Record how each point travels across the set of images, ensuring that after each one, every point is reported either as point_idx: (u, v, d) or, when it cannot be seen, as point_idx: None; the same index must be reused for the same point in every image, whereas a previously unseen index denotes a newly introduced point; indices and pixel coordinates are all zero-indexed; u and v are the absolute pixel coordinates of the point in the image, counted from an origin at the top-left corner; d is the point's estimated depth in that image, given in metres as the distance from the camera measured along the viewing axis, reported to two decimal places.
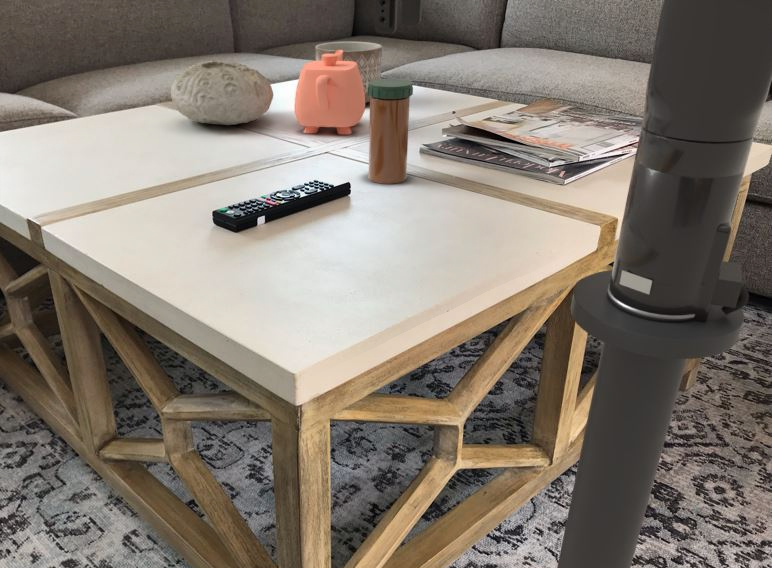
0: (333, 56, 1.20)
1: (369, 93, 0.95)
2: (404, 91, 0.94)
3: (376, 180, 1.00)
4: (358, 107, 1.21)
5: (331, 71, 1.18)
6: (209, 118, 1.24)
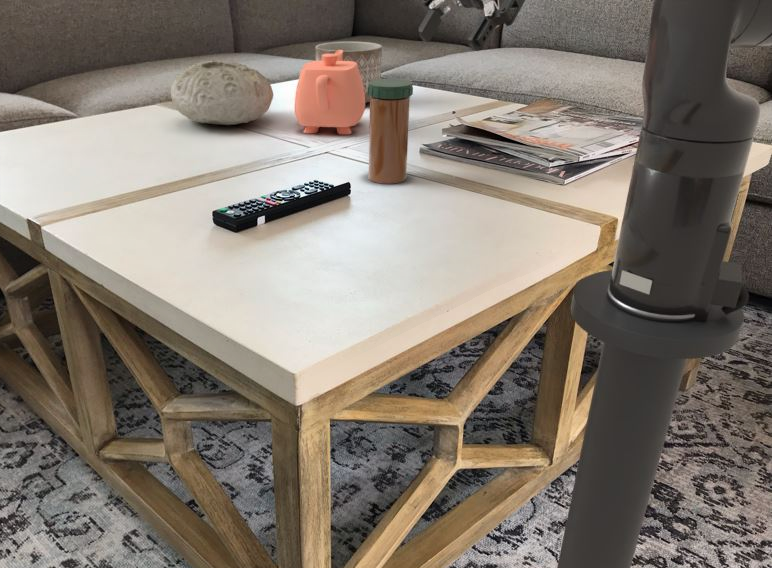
0: (333, 56, 1.20)
1: (369, 93, 0.95)
2: (404, 91, 0.94)
3: (376, 180, 1.00)
4: (358, 107, 1.21)
5: (331, 71, 1.18)
6: (209, 118, 1.24)
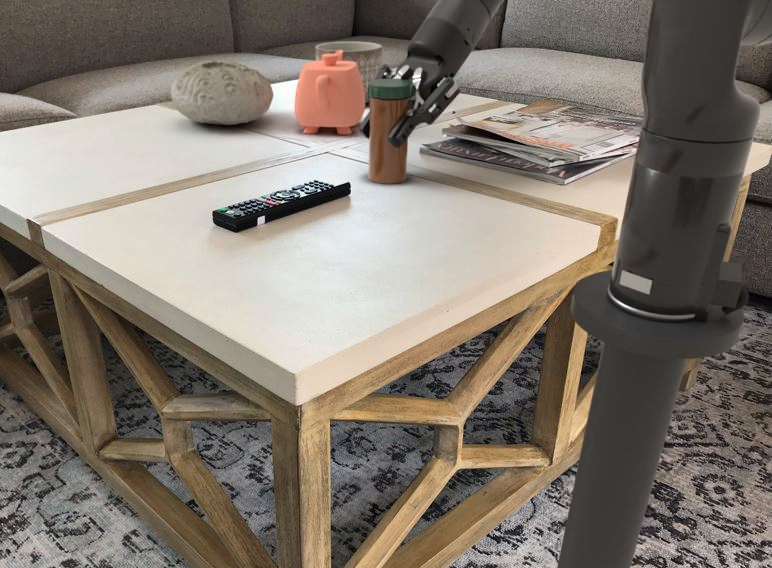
0: (333, 56, 1.20)
1: (369, 93, 0.95)
2: (404, 91, 0.94)
3: (376, 180, 1.00)
4: (358, 107, 1.21)
5: (331, 71, 1.18)
6: (209, 118, 1.24)
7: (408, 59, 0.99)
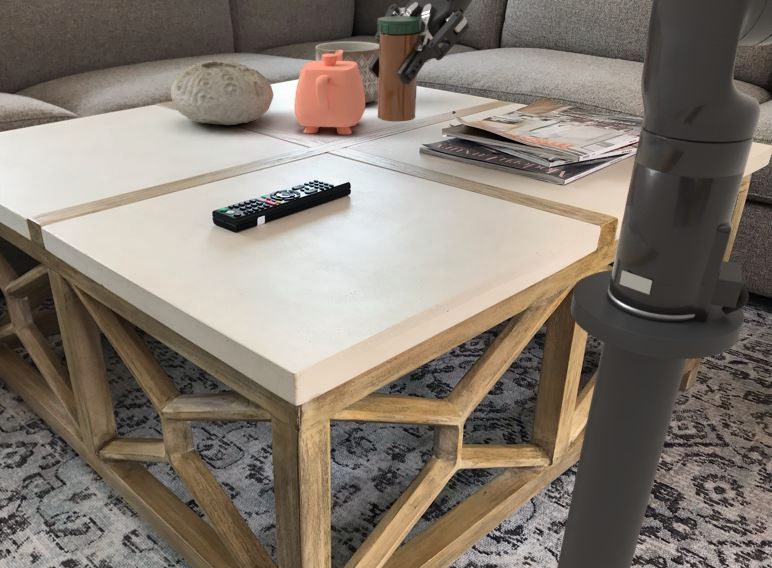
0: (333, 56, 1.20)
1: (378, 29, 0.96)
2: (413, 26, 0.94)
3: (385, 118, 1.00)
4: (358, 107, 1.21)
5: (331, 71, 1.18)
6: (209, 118, 1.24)
7: None
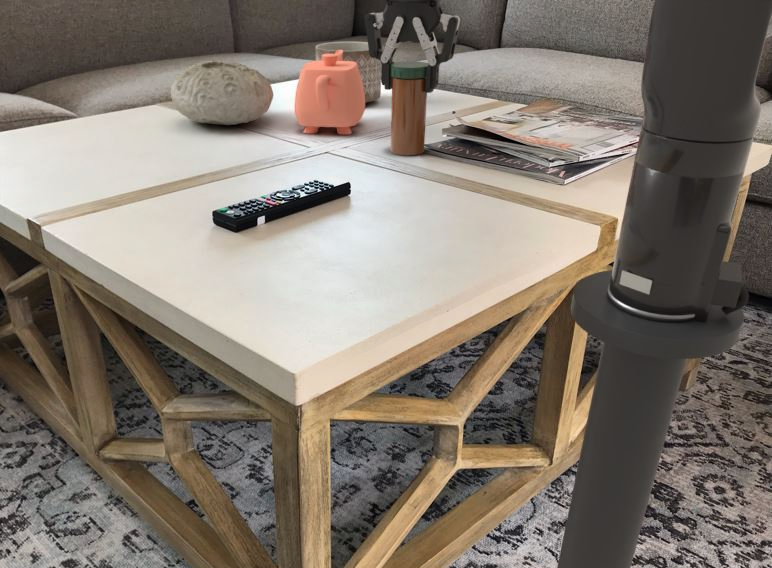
0: (333, 56, 1.20)
1: (391, 74, 1.07)
2: (423, 71, 1.06)
3: (397, 152, 1.12)
4: (358, 107, 1.21)
5: (331, 71, 1.18)
6: (209, 118, 1.24)
7: (391, 4, 1.03)
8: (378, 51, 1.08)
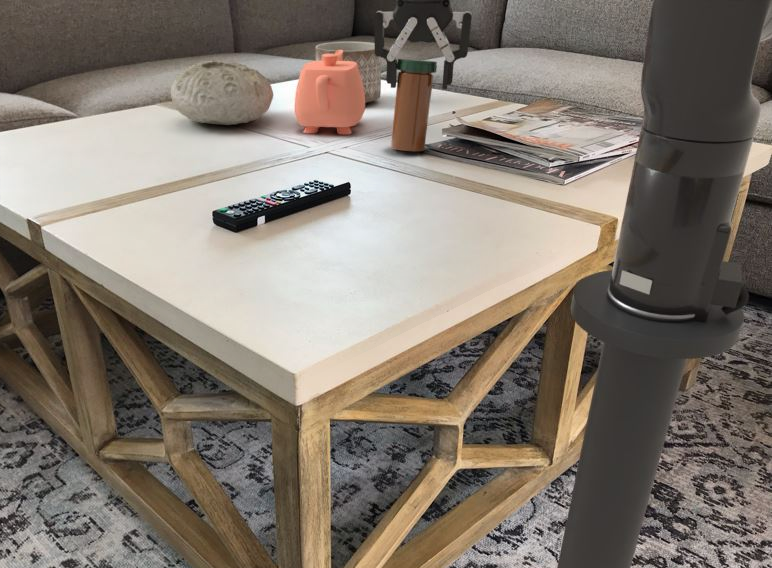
0: (333, 56, 1.20)
1: (424, 69, 1.06)
2: None
3: (398, 147, 1.11)
4: (358, 107, 1.21)
5: (331, 71, 1.18)
6: (209, 118, 1.24)
7: (403, 5, 1.03)
8: (383, 50, 1.07)
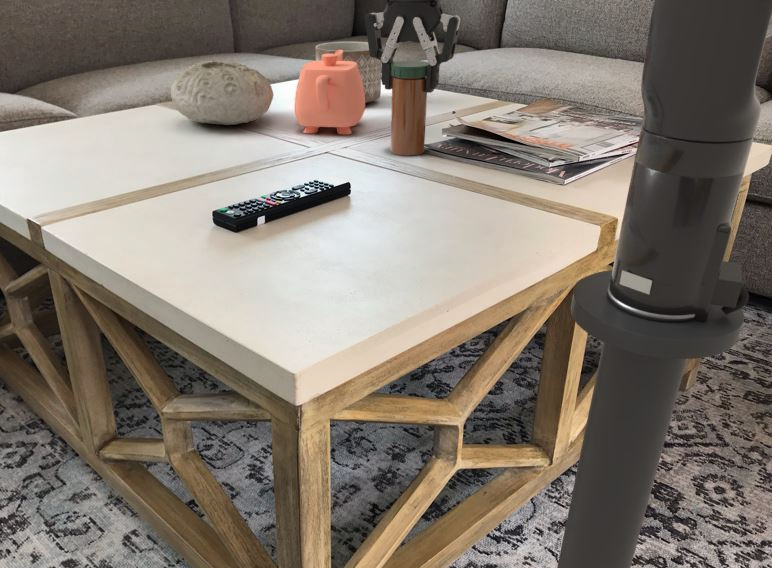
0: (333, 56, 1.20)
1: (417, 75, 1.05)
2: None
3: (397, 152, 1.12)
4: (358, 107, 1.21)
5: (331, 71, 1.18)
6: (209, 118, 1.24)
7: (391, 4, 1.04)
8: (378, 51, 1.08)
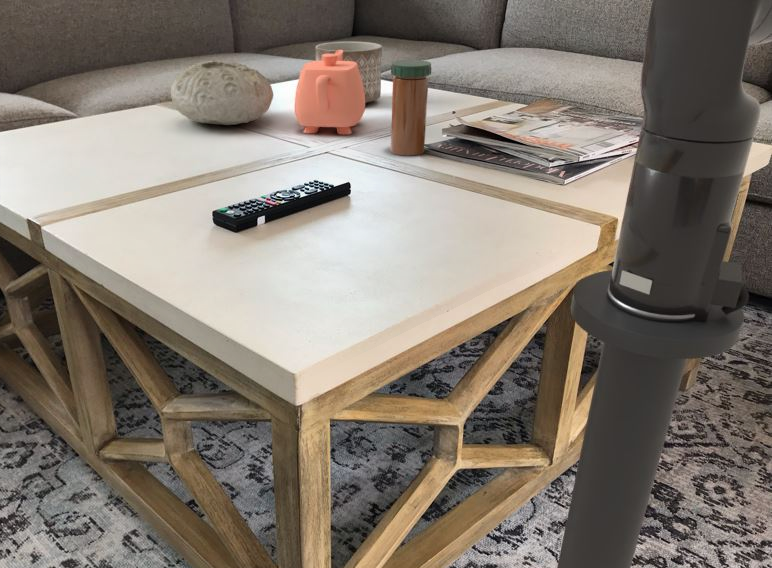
0: (333, 56, 1.20)
1: None
2: None
3: (397, 152, 1.12)
4: (358, 107, 1.21)
5: (331, 71, 1.18)
6: (209, 118, 1.24)
7: None
8: None
